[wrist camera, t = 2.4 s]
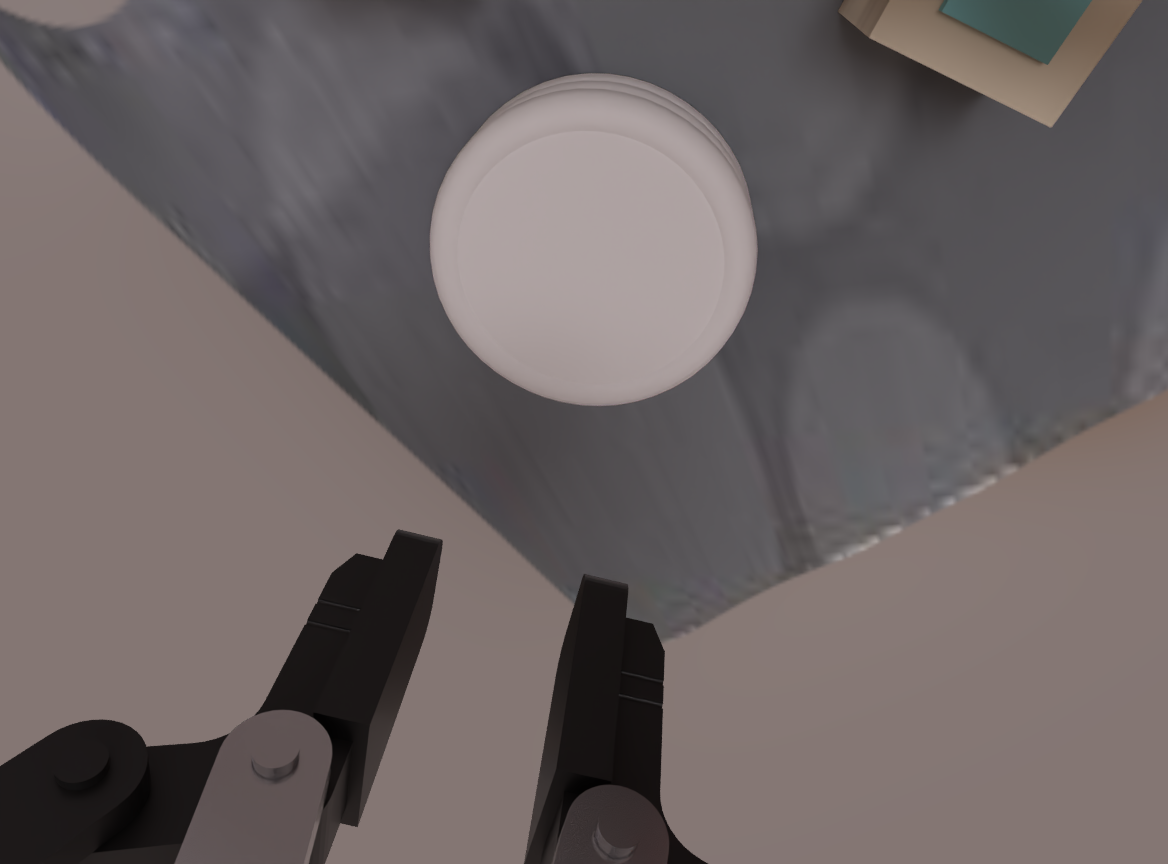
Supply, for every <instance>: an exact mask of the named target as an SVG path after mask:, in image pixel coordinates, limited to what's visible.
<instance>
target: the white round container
mask: <svg viewBox="0 0 1168 864" xmlns="http://www.w3.org/2000/svg"><path fill="white" fill-rule="evenodd" d="M757 253H758V246H757V233H756V225H755V221H754V215H753V210H752V206H751V200H750V196H749V191H748V187H747V183H746V181H745V178H744V175H743V173H742V170H741V167H740V165H739V163H738V161H737V159H736V157H735V156H734V154H733V152H732V150H731V148H730V147H729V145H728V144H727V142H726V141H725V140H724V138H723V137H722V136H721V134H720V133H719V131H718V130H717V129H716V128H715V127H714V126H713V125H712V124H711V123H710V122H709V121H708V120H707V119H706V118H705V117H704V116H703V115H702V114H701V113H699V112H698V111H697V110H696V109H694V108H693V107H692V106H691V105H689V104H688V103H687V102H685V101H684V100H682V99H680V98H679V97H677V96H675V95H674V94H672V93H671V92H669V91H667V90H665V89H662V88H660V87H658V86H656V85H654V84H651V83H649V82H645V81H642V80H639V79H635V78H632V77H627V76H621V75H614V74H602V73H585V74H577V75H569V76H564V77H560V78H557V79H553V80H549V81H546V82H543V83H541V84H539V85H537V86H534V87H532V88H530V89H528V90H526V91H524V92H522V93H520V94H519V95H517V96H516V97H514V98H513V99H511V100H510V101H508V102H506V103H505V104H504V105H503V106H502V107H500V108H499V109H498V110H497V111H496V112H495V113H493V114H492V115H491V116H490V117H489V118H488V119H487V120H486V122H485V123H484V124H483V125H482V126H481V127H480V128H479V130H478V131H477V132H476V133H475V134H474V135H473V136H472V138H471V139H470V140H469V141H468V142H467V144H466V145H465V146H464V147H463V148H462V149H461V151H460V152H459V153H458V155H457V156H456V158H455V160H454V161H453V163H452V165H451V166H450V168H449V169H448V171H447V173H446V175H445V178H444V180H443V182H442V184H441V187H440V189H439V191H438V194H437V198H436V202H435V205H434V209H433V212H432V220H431V228H430V259H431V265H432V272H433V279H434V282H435V285H436V289H437V292H438V296H439V299H440V301H441V303H442V305H443V308H444V310H445V312H446V314H447V316H448V318H449V320H450V321H451V323H452V325H453V326H454V328H455V330H456V331H457V333H458V334H459V335H460V337H461V338H462V339H463V341H464V342H465V343H466V344H467V346H468V347H469V348H470V349H471V350H472V351H473V352H474V353H475V354H476V355H477V356H478V357H479V358H480V359H481V360H482V361H483V362H484V363H485V364H487V365H488V366H489V367H490V368H491V369H493V370H494V371H495V372H497V373H498V374H500V375H501V376H503V377H504V378H506V379H507V380H509V381H510V382H512V383H514V384H516V385H518V386H520V387H522V388H524V389H525V390H527V391H530V392H532V393H535V394H537V395H540V396H542V397H545V398H549V399H552V400H556V401H560V402H564V403H570V404H577V405H588V406H608V405H620V404H626V403H631V402H637V401H640V400H643V399H646V398H650V397H653V396H656V395H658V394H660V393H663V392H665V391H667V390H669V389H671V388H674V387H675V386H677V385H679V384H680V383H682V382H684V381H685V380H687V379H688V378H690V377H692V376H693V375H694V374H695V373H697V372H698V371H699V370H700V369H701V368H703V367H704V366H705V365H706V364H707V363H708V362H709V361H710V360H711V359H712V358H713V357H714V356H715V355H716V354H717V353H718V352H719V351H720V350H721V348H722V347H723V346H724V344H725V343H726V341H727V340H728V339H729V337H730V336H731V335H732V333H733V332H734V330H735V328H736V326H737V325H738V323H739V321H740V319H741V317H742V315H743V313H744V312H745V309H746V306H747V303H748V301H749V298H750V295H751V292H752V288H753V283H754V279H755V274H756V267H757Z"/></svg>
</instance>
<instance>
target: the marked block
mask: <svg viewBox="0 0 1168 864" xmlns="http://www.w3.org/2000/svg"><path fill="white" fill-rule="evenodd" d="M1141 2H1142V0H844V1H843V3H842V5H841V6H840V8H839V10H838V12H839V13H840V14H841V15H843V16H844V17H845V18H846V19H847V20H848V21H850V22H851V23H852V24H853V25H854V26H856V27H857V28H858V29H859V30H860V31H861V32H863V33H864V34H865V35H866V36H867V37H869V38H870V39H872V40H874V41H876V42H878V43H880V44H883V45H885V46H887V47H889V48H891V49H893V50H895V51H897V52H899V53H901V54H903V55H905V56H907V57H909V58H911V59H913V60H915V61H917V62H919V63H921V64H923V65H925V66H927V67H929V68H931V69H933V70H935V71H937V72H939V73H941V74H943V75H945V76H947V77H949V78H951V79H953V80H955V81H957V82H959V83H961V84H964V85H966V86H968V87H970V88H972V89H974V90H976V91H978V92H980V93H982V94H984V95H986V96H988V97H990V98H992V99H994V100H996V101H998V102H1000V103H1002V104H1004V105H1006V106H1008V107H1010V108H1012V109H1014V110H1016V111H1018V112H1020V113H1022V114H1024V115H1026V116H1028V117H1030V118H1032V119H1034V120H1036V121H1038V122H1040V123H1042V124H1045V125H1047V126H1049V127H1052V126H1053V125H1054V123H1055V122H1056V121H1057V119H1058V118H1059V116H1060V115H1061V114H1062V112H1063V111H1064V109H1065V108H1066V107H1067V105H1068V104H1069V102H1070V101H1071V100H1072V98H1073V97H1074V95H1075V94H1076V93H1077V91H1078V90H1079V88H1080V87H1081V86H1082V84H1083V83H1084V81H1085V80H1086V79H1087V77H1088V76H1089V74H1090V73H1091V72H1092V70H1093V69H1094V67H1095V66H1096V65H1097V63H1098V62H1099V60H1100V59H1101V58H1102V56H1103V55H1104V53H1105V52H1106V51H1107V49H1108V48H1109V46H1110V45H1111V44H1112V42H1113V41H1114V39H1115V38H1116V37H1117V35H1118V34H1119V32H1120V31H1121V30H1122V28H1123V27H1124V26H1125V24H1126V23H1127V21H1128V20H1129V19H1130V17H1131V16H1132V14H1133V13H1134V12H1135V10H1136V9H1137V7H1138V6H1139V5H1140V3H1141Z"/></svg>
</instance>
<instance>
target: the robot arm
mask: <svg viewBox="0 0 1168 864" xmlns="http://www.w3.org/2000/svg"><path fill="white" fill-rule="evenodd" d="M442 542H443V541H442V540H441V539H437V538H433V537H428V536H424V535H420V534H416V533H411V532H407V531H403V530H397V531H396V533H395V535H394V537H393V539H392V541H391V543H390V546H389V548H388V550H387V552H386V554H385V557H384V559H383V560H382V559H378V558H374V557H370V556H365V555H361V554H355V555H354V556H353V557H352V558H350V559H349V560H348V561H346V562H345V563H344V564H343V565H341V566H340V567H339V568H337V569H336V570H335V571H334V572H332V574H331V575H330V578H329V579H328V581H327V583H326V585H325V587H324V589H323V591H322V593H321V595H320V597H319V599H318V602H317V604H315V606H314V608H313V610H312V612H311V614H310V616H309V618H308V621H307V624H306V625H304V628H303V630H302V631H301V633H300V635H299V637H298V639H297V641H296V643H295V645H294V646H293V648H292V650H291V652H290V654H289V656H288V658H287V660H286V662H285V664H284V666H283V668H282V670H281V671H280V673H279V675H278V677H277V679H276V681H275V683H274V685H273V687H272V689H271V691H270V693H269V695H268V696H267V698H266V700H265V702H264V704H263V705H262V707H261V708H260V710H259V711H258V712H257V713H256V714H255V715H254V716H253V717H251V718H249V719H247V720H245V721H243V722H242V723H241V724H239V725H238V726H237V727H235V728H234V729H233V730H232V731H231V732H230V733H229V734H227V735H225V736H222V737H220V738H217V739H213V740H209V741H206V742H199V743H190V744H177V745H163V746H150V747H146V744H145V742H144V740H143V739H142V737H141V736H140V735H139V734H138V732H137V731H135V730H134V729H132V728H131V727H129V726H127V725H125V724H123V723H120V722H116V721H112V720H89V721H83V722H79V723H75V724H72V725H69V726H66V727H64V728H61V729H59V730H57V731H55V732H54V733H52V734H50V735H48V736H47V737H45V738H44V739H42V740H40V741H39V742H37V743H36V744H34V745H33V746H31V747H30V748H28V749H26V750H25V751H23V752H22V753H21V754H18V755H17V756H16V757H14V758H12V759H11V760H9V761H8V762H6V763H4V764H3V765H1V766H0V864H325V861H326V859H327V857H328V854H329V851H330V848H331V846H332V843H333V841H334V838H335V835H336V832H337V830H338V827H339V824H340V823H342V824H346V825H351V826H355V827H358V824H359V821H360V818H361V816H362V813H363V810H364V807H365V804H366V802H367V798H368V796H369V793H370V790H371V787H372V785H373V782H374V779H375V776H376V773H377V770H378V768H379V765H380V762H381V759H382V756H383V753H384V751H385V748H386V745H387V742H388V739H389V736H390V734H391V731H392V728H393V725H394V722H395V719H396V717H397V714H398V711H399V708H400V705H401V703H402V700H403V697H404V694H405V691H406V688H407V685H408V683H409V680H410V677H411V674H412V671H413V668H414V666H415V663H416V660H417V657H418V654H419V652H420V649H421V646H422V643H423V640H424V637H425V633H426V630H427V626H428V622H429V619H430V614H431V610H432V604H433V599H434V593H435V586H436V580H437V574H438V569H439V563H440V556H441V551H442ZM627 598H628V585H627V584H624V583H620V582H616V581H612V580H607V579H603V578H599V577H595V576H591V575H586V574H584V576H583V578H582V581H581V585H580V588H579V591H578V595H577V598H576V601H575V605H574V608H573V611H572V615H571V618H570V621H569V625H568V628H567V631H566V635H565V638H564V642H563V646H562V650H561V654H560V658H559V663H558V668H557V673H556V679H555V685H554V691H553V697H552V702H551V708H550V714H549V720H548V726H547V731H546V738H545V743H544V750H543V755H542V761H541V767H540V773H539V779H538V785H537V791H536V796H535V802H534V808H533V814H532V820H531V826H530V832H529V839H528V844H527V850H526V855H525V862H524V864H707V863H706V862H704V861H702V860H701V859H699V858H698V857H696V856H695V855H693V854H692V853H691V852H690V851H689V850H687V849H686V848H685V847H684V846H683V845H682V844H681V843H680V842H679V841H678V839H677V838H676V837H675V835H674V834H673V832H672V831H671V830H670V827H669V826H668V824H667V822H666V820H665V817H664V814H663V811H662V806H661V802H660V778H661V748H662V717H663V709H662V704H663V681H664V657H665V651H664V649H663V647H662V644H661V642H660V640H659V637H658V635H657V633H656V630H655V628H654V626H653V624H651V623H647V622H643V621H638V620H634V619H630V618H626V610H627Z"/></svg>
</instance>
